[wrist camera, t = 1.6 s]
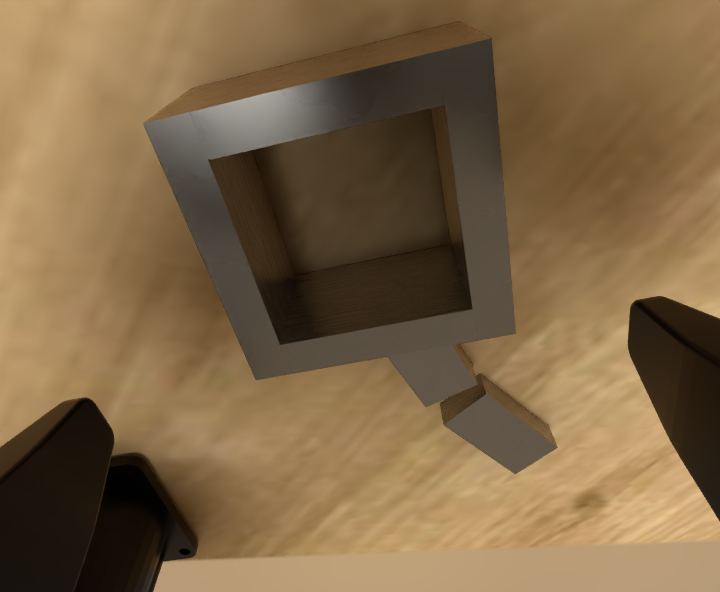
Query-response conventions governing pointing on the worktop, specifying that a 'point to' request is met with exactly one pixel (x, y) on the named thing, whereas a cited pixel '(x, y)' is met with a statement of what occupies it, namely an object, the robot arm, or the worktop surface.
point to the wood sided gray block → (498, 425)
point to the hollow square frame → (365, 279)
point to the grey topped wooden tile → (436, 372)
